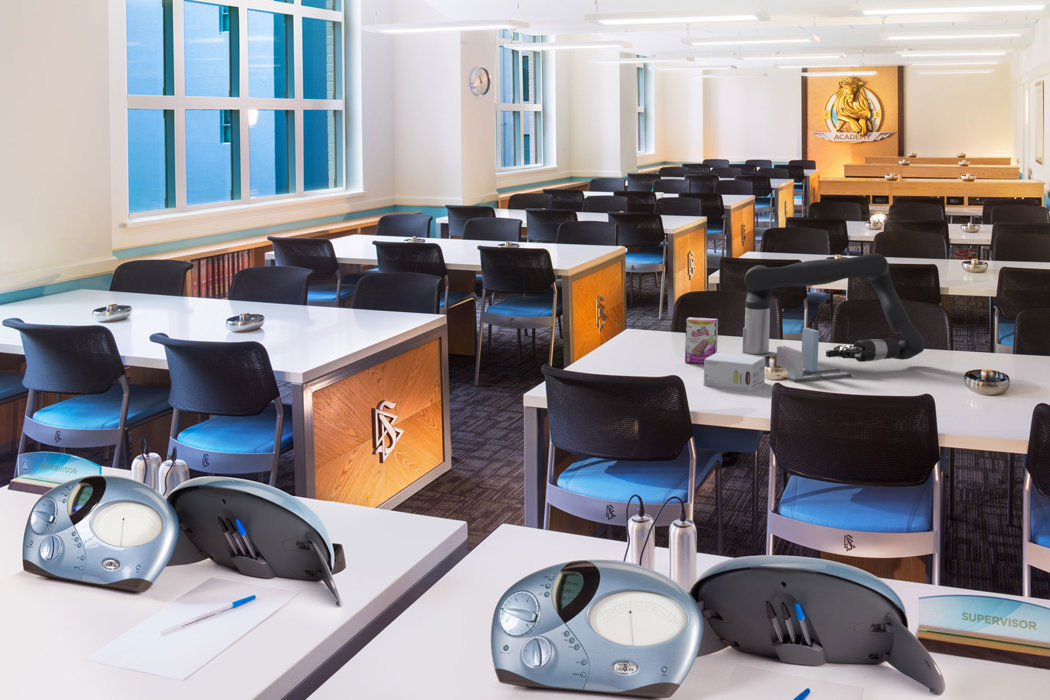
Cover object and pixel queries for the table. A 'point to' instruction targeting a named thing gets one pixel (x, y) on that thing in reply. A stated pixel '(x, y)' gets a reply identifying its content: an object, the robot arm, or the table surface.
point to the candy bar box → (700, 339)
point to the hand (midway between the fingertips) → (827, 353)
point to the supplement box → (734, 371)
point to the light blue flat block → (810, 349)
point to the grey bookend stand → (794, 367)
